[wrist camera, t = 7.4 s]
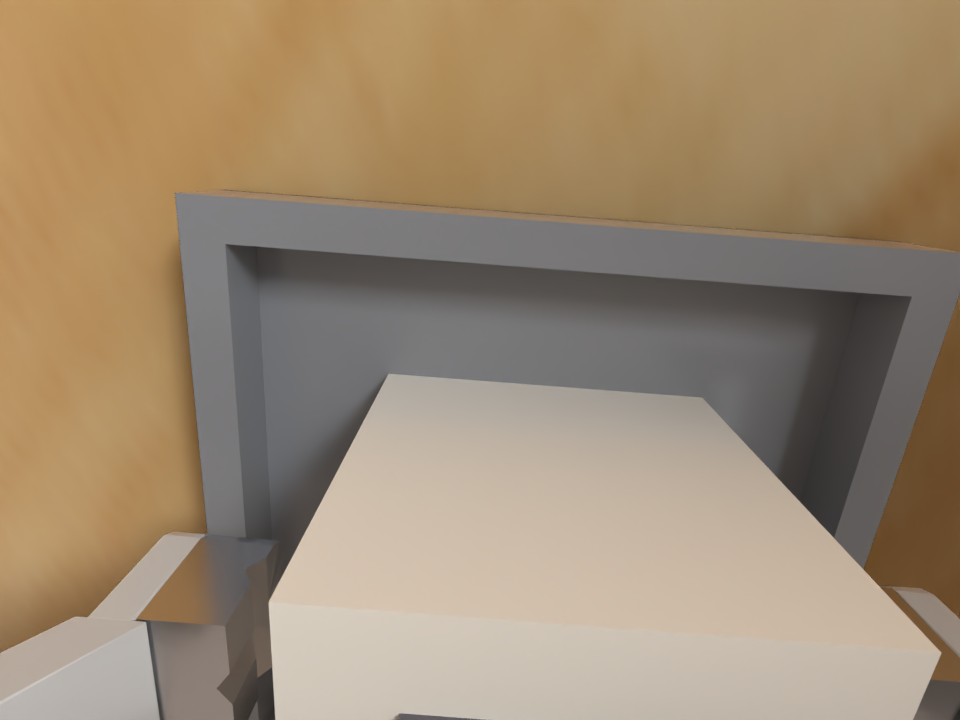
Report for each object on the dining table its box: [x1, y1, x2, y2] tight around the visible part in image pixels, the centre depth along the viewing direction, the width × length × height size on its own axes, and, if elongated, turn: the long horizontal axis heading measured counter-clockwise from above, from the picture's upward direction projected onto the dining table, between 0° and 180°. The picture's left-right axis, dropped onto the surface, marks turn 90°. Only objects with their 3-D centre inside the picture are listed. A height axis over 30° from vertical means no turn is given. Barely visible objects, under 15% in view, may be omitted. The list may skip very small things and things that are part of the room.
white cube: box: [269, 374, 941, 720], centre depth 7 cm, size 5×5×5 cm
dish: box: [175, 190, 960, 720], centre depth 9 cm, size 10×10×1 cm
